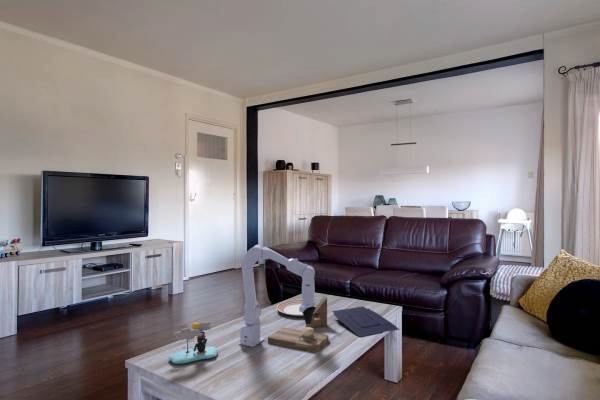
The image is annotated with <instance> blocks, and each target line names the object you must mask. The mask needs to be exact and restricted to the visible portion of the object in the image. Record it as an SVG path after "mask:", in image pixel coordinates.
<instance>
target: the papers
mask: <svg viewBox="0 0 600 400" xmlns="http://www.w3.org/2000/svg"><path fill="white" fill-rule="evenodd" d="M331 312H332V313H333V316H334V317H335V318H336V319H338V320H339V321H340V322H341V323H342V324H343V325H345V326H346V327H347V328H349V329H350V330H351V332H353V333H354V334H355V335H356V336H358V337H359V338H362V337H366V336H372V335H376V334H379V333H381V334H382V333H386V332H391V331H392V332H393V331H398V330H399V331H400V328H399V327H397V325H394V324H393V322H391V321H389V320H388V319H386V318H385V317H384V316H382V315H380V314H379V313H377V312H375V311H374V310H372V309H370V308H366V307H365V306H357V307H352V308H344V309H337V310H332V311H331Z"/></svg>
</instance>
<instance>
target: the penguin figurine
mask: <svg viewBox="0 0 600 400" xmlns="http://www.w3.org/2000/svg"><path fill="white" fill-rule="evenodd" d="M191 328H192V329H191ZM191 328H190V327H188V325H187V323H179V324H176V325H175V326H174V329H175V330H176V332H173V336H174V337H175V336H176V337H175V338H176V340H177V341H184V340H185V341H186V344H187V345H186V347H185V346H184V347H183V348H182V350H180V351H178V352H176V353H173V354H170V355H169V356H168V359H169V361H171V362H172V363H173V364H175V365H176V364H177V365H178V364H181V365H182V364H188V363H192V362H194V361H200V360H207V359H211V358H215V357H217V355H218V353H219V349H218V348H217V347H215V346H206V345H207V342H208V338H206V335H205V331H210V330H211V328H212V327H211V322H209V321H205V322H194V323H192V325H191ZM195 337H196V338H197V339H196V340H193V339H194V338H195ZM195 341H196V343H195ZM191 342H193V343H195V345H194V346H193V348H192V345H189V344H191ZM179 345H182V342H179Z"/></svg>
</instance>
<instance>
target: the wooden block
mask: <svg viewBox="0 0 600 400" xmlns="http://www.w3.org/2000/svg"><path fill="white" fill-rule="evenodd" d="M318 302H319V303H318V305H317V306H316V309H315V311H314V313H316V314H318V316H317V317H315V314H314V313H313V316H312V321H311V323H310V324H306V323H305V326H306V327H310V328H317V327H325V326H328V298H327V297H326V296H323V297H322V299H320V301H318ZM313 307H314V306H313Z"/></svg>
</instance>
